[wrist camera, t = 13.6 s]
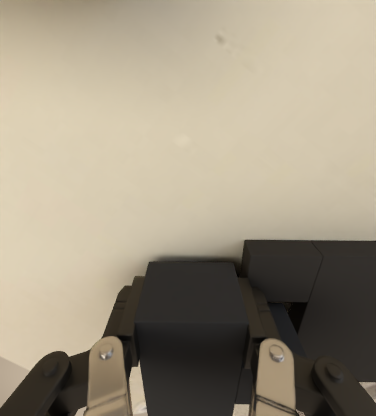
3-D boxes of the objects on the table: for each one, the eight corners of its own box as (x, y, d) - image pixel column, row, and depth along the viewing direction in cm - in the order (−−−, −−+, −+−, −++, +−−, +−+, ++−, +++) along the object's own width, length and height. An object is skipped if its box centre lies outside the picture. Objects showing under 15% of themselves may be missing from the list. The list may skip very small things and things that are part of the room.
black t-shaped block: (266, 363, 17) (286, 432, 14) (158, 362, 18) (149, 430, 14) (293, 262, 13) (332, 324, 10) (148, 261, 13) (133, 321, 10)
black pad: (397, 362, 18) (413, 383, 17) (227, 360, 19) (230, 380, 17) (481, 241, 13) (513, 257, 12) (244, 239, 13) (250, 255, 12)
